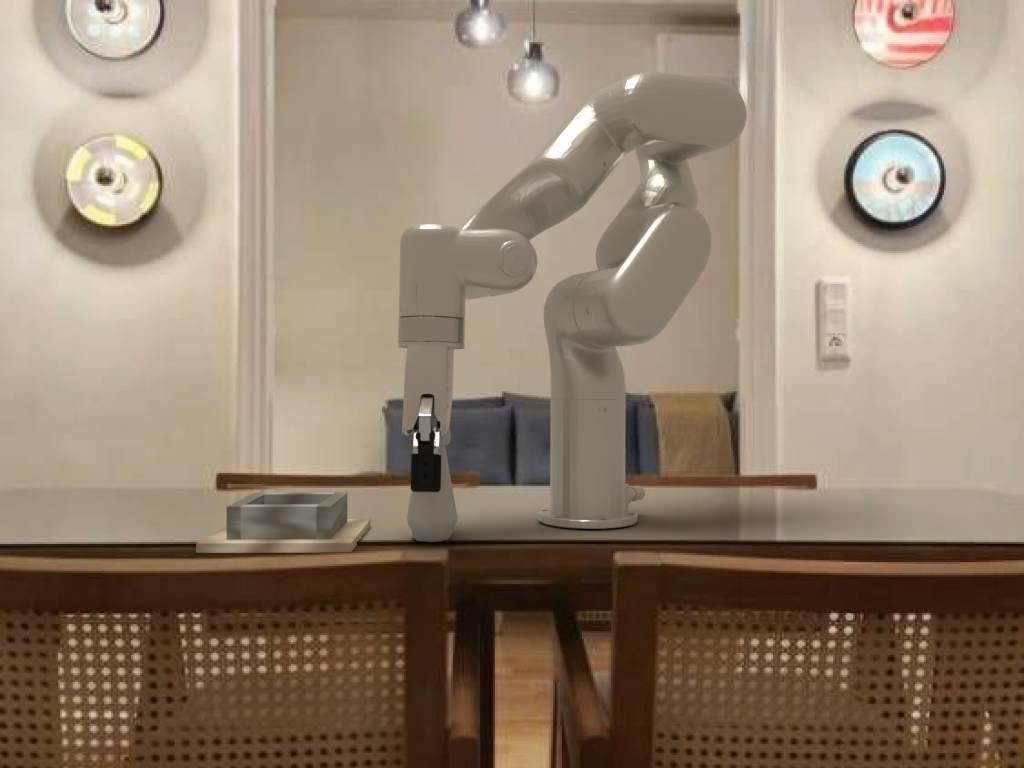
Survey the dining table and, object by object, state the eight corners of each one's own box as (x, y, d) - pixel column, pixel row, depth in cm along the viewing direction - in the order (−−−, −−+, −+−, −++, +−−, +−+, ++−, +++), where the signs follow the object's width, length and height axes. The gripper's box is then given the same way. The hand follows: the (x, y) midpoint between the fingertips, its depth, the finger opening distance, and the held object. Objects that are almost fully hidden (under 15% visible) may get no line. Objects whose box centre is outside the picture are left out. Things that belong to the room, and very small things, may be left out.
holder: (370, 526, 103) (370, 490, 102) (351, 552, 88) (351, 509, 87) (238, 527, 102) (238, 490, 102) (196, 552, 87) (196, 509, 87)
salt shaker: (461, 534, 98) (461, 423, 98) (453, 543, 92) (453, 425, 92) (412, 533, 98) (412, 422, 98) (401, 542, 93) (401, 425, 93)
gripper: (405, 339, 104) (402, 477, 104) (389, 329, 86) (386, 495, 86) (466, 340, 104) (463, 478, 104) (462, 331, 87) (459, 496, 86)
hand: (428, 486), depth 95 cm, fingers open, 9 cm apart
